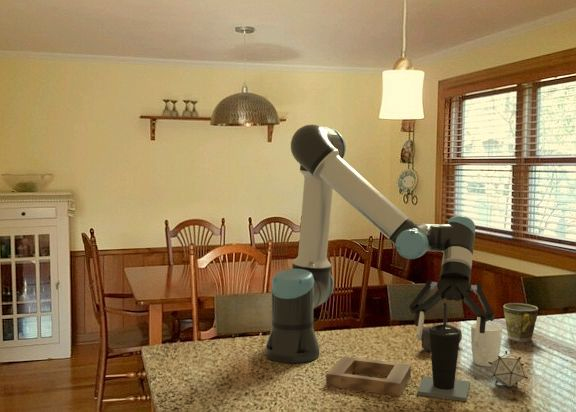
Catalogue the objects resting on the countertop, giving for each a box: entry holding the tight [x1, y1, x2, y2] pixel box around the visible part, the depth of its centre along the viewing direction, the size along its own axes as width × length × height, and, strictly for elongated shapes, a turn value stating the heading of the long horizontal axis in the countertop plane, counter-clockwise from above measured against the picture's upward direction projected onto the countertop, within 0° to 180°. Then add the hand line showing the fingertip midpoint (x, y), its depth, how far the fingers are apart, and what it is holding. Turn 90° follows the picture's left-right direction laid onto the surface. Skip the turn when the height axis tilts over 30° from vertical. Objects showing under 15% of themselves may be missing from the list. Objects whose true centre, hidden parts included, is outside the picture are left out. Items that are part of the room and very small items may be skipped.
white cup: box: [470, 322, 503, 368], centre depth 163 cm, size 8×8×10 cm
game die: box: [488, 350, 529, 391], centre depth 146 cm, size 9×8×10 cm
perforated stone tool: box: [420, 326, 463, 352], centre depth 175 cm, size 15×5×7 cm, turn 112°
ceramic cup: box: [502, 302, 539, 343], centre depth 184 cm, size 13×10×10 cm
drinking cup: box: [428, 302, 462, 390], centre depth 143 cm, size 8×8×20 cm
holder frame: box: [325, 356, 412, 397], centre depth 149 cm, size 18×14×3 cm
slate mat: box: [416, 375, 471, 402], centre depth 144 cm, size 11×11×1 cm
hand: (447, 340), depth 144 cm, fingers open, 13 cm apart
